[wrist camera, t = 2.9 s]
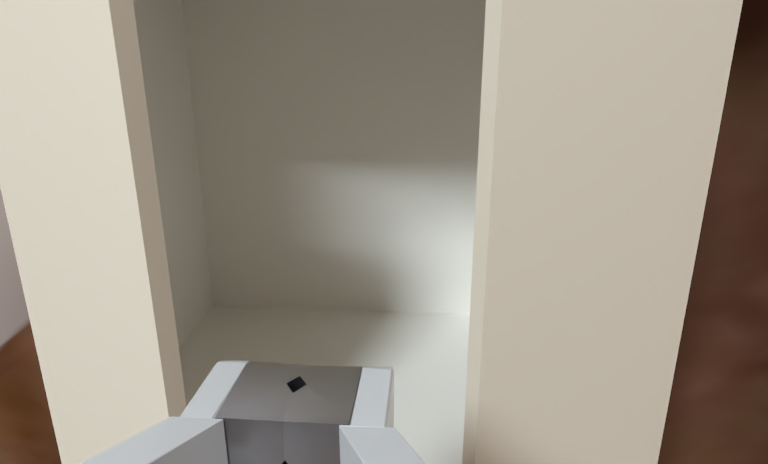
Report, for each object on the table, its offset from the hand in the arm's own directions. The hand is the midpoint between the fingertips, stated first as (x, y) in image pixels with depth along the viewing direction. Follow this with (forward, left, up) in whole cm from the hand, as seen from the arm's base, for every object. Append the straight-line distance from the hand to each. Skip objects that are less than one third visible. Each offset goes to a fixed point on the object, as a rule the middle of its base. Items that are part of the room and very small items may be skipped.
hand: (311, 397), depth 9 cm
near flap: (0, -7, -7) cm, 10 cm away
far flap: (0, +8, -7) cm, 11 cm away
